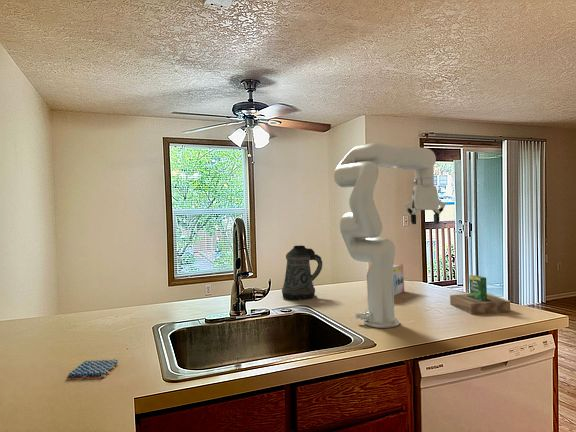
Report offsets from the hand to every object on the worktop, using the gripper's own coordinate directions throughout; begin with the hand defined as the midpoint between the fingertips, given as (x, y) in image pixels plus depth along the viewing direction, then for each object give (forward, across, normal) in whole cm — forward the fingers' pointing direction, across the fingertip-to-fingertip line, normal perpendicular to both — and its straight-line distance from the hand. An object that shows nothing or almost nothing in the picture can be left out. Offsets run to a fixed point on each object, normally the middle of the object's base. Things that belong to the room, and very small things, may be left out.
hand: (425, 223), depth 165 cm
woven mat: (+38, -116, -48) cm, 131 cm away
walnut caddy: (+35, +19, -6) cm, 40 cm away
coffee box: (+35, +19, -6) cm, 40 cm away
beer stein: (+36, -50, +32) cm, 69 cm away
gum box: (+35, -8, +26) cm, 45 cm away
